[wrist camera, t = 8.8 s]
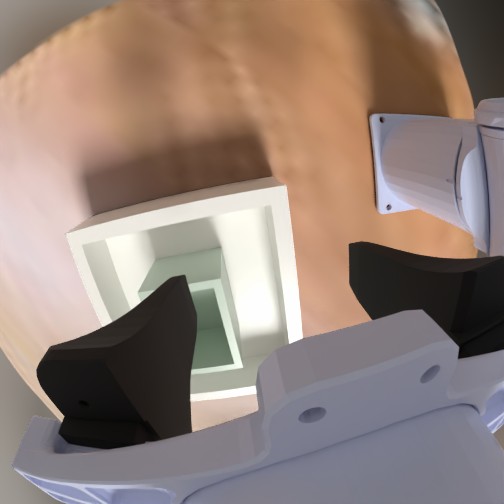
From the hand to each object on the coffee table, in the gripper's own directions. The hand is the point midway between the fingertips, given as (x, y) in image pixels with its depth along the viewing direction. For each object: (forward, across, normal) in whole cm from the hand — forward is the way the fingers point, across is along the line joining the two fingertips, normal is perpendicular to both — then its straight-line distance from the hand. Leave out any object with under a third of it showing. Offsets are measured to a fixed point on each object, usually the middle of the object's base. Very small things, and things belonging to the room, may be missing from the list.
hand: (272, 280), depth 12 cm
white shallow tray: (+9, +5, +5) cm, 12 cm away
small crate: (+8, +5, +5) cm, 11 cm away
